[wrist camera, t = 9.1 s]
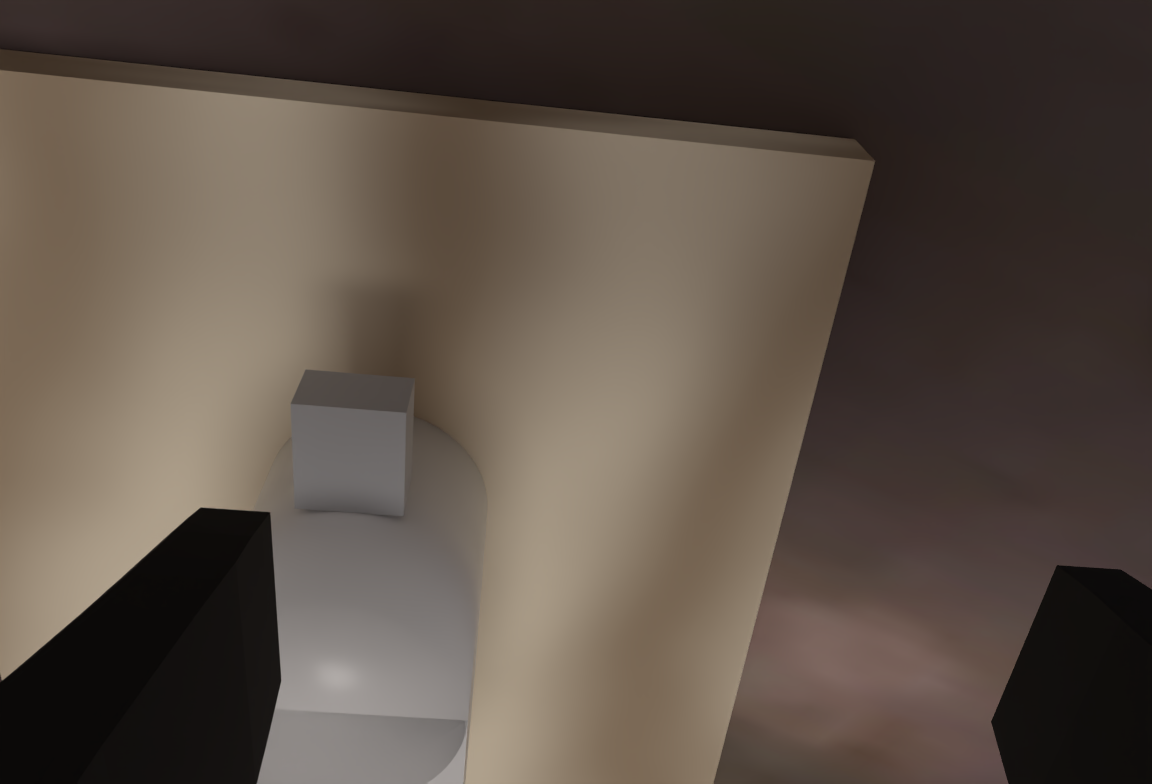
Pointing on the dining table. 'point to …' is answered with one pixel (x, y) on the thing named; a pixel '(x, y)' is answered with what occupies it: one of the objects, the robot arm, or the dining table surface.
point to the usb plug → (372, 588)
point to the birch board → (427, 362)
